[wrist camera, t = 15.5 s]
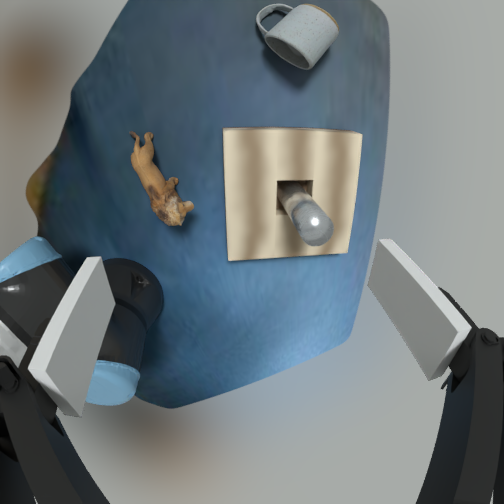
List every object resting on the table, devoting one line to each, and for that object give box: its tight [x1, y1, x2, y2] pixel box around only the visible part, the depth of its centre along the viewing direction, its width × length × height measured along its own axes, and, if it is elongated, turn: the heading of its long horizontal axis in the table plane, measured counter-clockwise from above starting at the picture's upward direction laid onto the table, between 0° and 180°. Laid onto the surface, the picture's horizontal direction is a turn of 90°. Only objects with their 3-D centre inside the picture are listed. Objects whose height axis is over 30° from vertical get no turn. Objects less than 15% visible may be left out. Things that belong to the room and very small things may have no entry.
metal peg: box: [277, 180, 334, 246], centre depth 39 cm, size 4×4×14 cm
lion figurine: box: [129, 131, 194, 226], centre depth 38 cm, size 15×5×9 cm, turn 32°
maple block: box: [223, 127, 362, 261], centre depth 44 cm, size 20×20×4 cm
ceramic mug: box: [256, 4, 339, 70], centre depth 30 cm, size 11×8×8 cm
